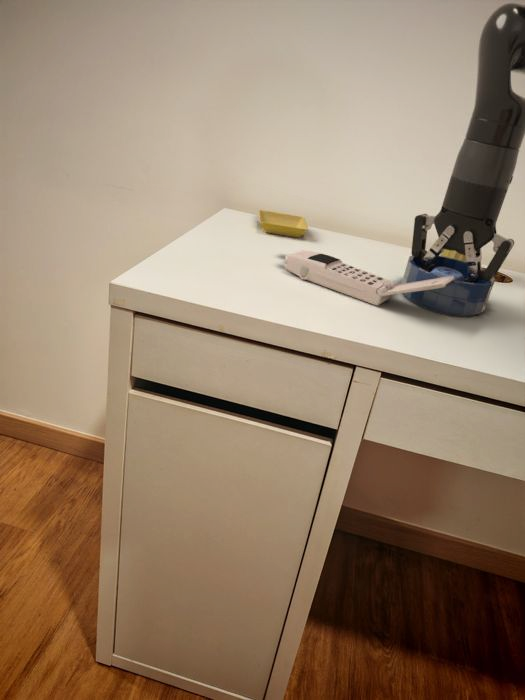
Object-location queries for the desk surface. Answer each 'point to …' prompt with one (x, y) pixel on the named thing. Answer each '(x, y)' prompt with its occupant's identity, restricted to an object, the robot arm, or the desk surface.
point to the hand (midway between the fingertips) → (442, 295)
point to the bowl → (448, 289)
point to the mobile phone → (352, 277)
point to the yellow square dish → (282, 223)
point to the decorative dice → (448, 273)
